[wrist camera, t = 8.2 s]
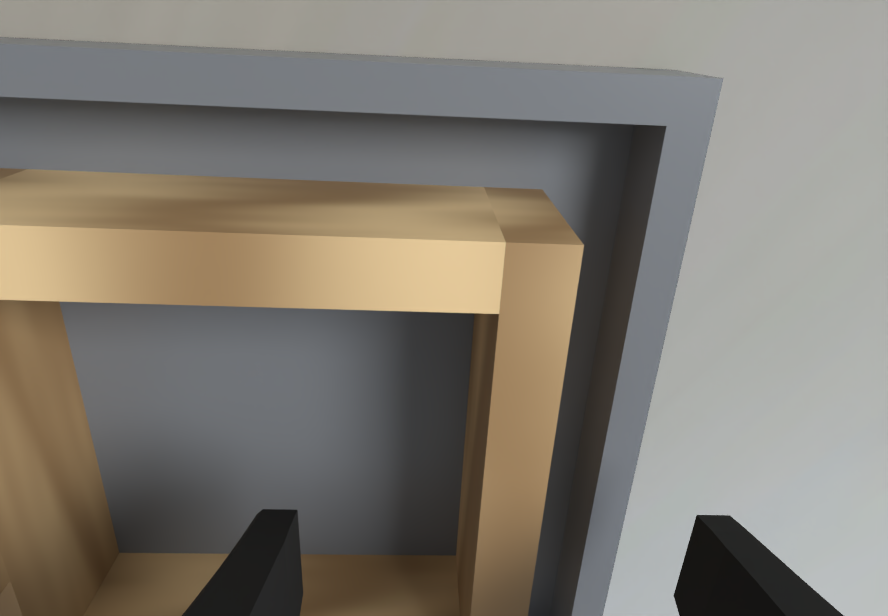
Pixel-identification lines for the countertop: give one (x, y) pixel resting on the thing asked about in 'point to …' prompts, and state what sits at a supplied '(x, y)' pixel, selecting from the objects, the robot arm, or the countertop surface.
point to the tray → (366, 331)
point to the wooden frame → (277, 286)
